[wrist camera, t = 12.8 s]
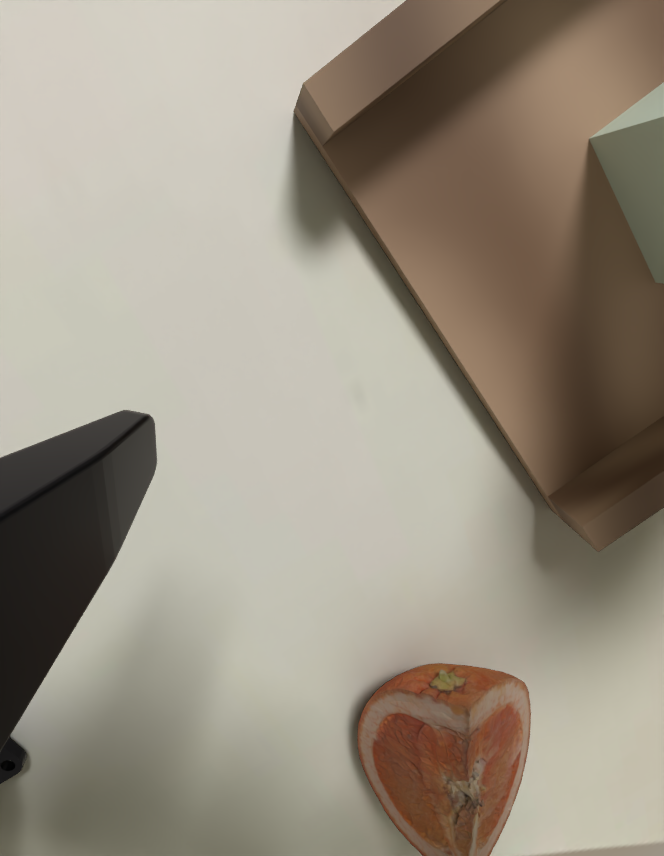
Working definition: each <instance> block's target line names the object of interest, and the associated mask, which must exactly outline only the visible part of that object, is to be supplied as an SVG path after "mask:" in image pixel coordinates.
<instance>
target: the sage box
mask: <svg viewBox="0 0 664 856" xmlns="http://www.w3.org/2000/svg"><path fill="white" fill-rule="evenodd" d="M589 140H590V142H591V144H592V146H593V149H594V151H595V153H596V155H597V157H598V159H599V162H600V164H601V166H602V168H603V170H604V172H605V175H606V177H607V179H608V181H609V183H610V185H611V187H612V190H613V192H614V194H615V196H616V198H617V200H618V203H619V205H620V207H621V209H622V211H623V213H624V215H625V218H626V220H627V222H628V224H629V226H630V228H631V231H632V233H633V235H634V237H635V239H636V241H637V244H638V246H639V248H640V250H641V252H642V254H643V256H644V259H645V261H646V263H647V265H648V267H649V269H650V272H651V274H652V276H653V278H654V280H655V282H656V283H663V284H664V82H663V83H662V84H661V85H659V86H658V87H657V88H655V89H654V90H653V91H651V92H650V93H649V94H647V95H646V96H645V97H643V98H642V99H641V100H639V101H638V102H637V103H635V104H634V105H633V106H631V107H630V108H629V109H628V110H626V111H625V112H624V113H622V114H621V115H620V116H618V117H617V118H616V119H614V120H613V121H612V122H610V123H609V124H608V125H606V126H605V127H604V128H602V129H601V130H600V131H598V132H597V133H596V134H594V135H593V136H592V137H590V138H589Z"/></svg>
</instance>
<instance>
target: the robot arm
mask: <svg viewBox="0 0 664 856" xmlns="http://www.w3.org/2000/svg"><path fill="white" fill-rule="evenodd" d="M156 465H157V452H156V435H155V423H154V420H153V418H152V417H151V416H150V415H149V414H145V413H140V412H135V411H130V410H123V411H120V412H117V413H115V414H112V415H109V416H107V417H104V418H102V419H99V420H97V421H94V422H91V423H89V424H86V425H84V426H81V427H78V428H76V429H73V430H71V431H68V432H66V433H63V434H60V435H58V436H55V437H53V438H50V439H48V440H45V441H42V442H40V443H37V444H35V445H32V446H30V447H27V448H24V449H22V450H19V451H17V452H14V453H11V454H9V455H6V456H4V457H1V458H0V784H1V783H3V782H4V781H6V780H8V779H9V778H11V777H13V776H14V775H16V774H18V773H19V772H20V771H21V769H22V767H23V765H24V762H25V760H26V757H27V756H26V752H25V751H24V750H23V749H22V748H21V747H20V746H18V745H17V744H16V743H15V742H14V741H12V740H11V739H10V738H9V736H10V735H11V733H12V731H13V730H14V728H15V726H16V725H17V723H18V721H19V720H20V718H21V716H22V715H23V713H24V711H25V710H26V708H27V706H28V705H29V703H30V701H31V700H32V698H33V696H34V695H35V693H36V691H37V690H38V688H39V686H40V685H41V683H42V681H43V680H44V678H45V677H46V675H47V673H48V672H49V670H50V668H51V667H52V665H53V663H54V662H55V660H56V658H57V657H58V655H59V653H60V652H61V650H62V648H63V647H64V645H65V643H66V642H67V640H68V638H69V637H70V635H71V633H72V632H73V630H74V628H75V627H76V625H77V623H78V622H79V620H80V618H81V617H82V615H83V613H84V612H85V610H86V608H87V607H88V605H89V603H90V602H91V600H92V598H93V597H94V595H95V593H96V592H97V590H98V588H99V587H100V585H101V583H102V582H103V580H104V578H105V577H106V575H107V573H108V572H109V570H110V568H111V566H112V565H113V563H114V561H115V559H116V557H117V555H118V553H119V551H120V549H121V547H122V545H123V542H124V540H125V538H126V536H127V534H128V531H129V529H130V527H131V525H132V522H133V520H134V518H135V516H136V514H137V511H138V509H139V507H140V505H141V503H142V500H143V498H144V496H145V494H146V492H147V489H148V487H149V485H150V483H151V480H152V478H153V476H154V473H155V470H156Z"/></svg>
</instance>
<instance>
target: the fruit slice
mask: <svg viewBox="0 0 664 856" xmlns="http://www.w3.org/2000/svg"><path fill="white" fill-rule="evenodd" d="M530 716H531V711H530V700H529V692H528V689H527V687H526V685H525V683H524V682H523V681H521V680H520V679H518V678H516V677H514V676H512V675H509V674H506V673H504V672H500V671H495V670H490V669H486V668H479V667H473V666H465V665H453V664H428V665H423V666H420V667H417V668H414V669H411V670H409V671H406V672H404V673H402V674H399V675H397V676H396V677H394V678H393V679H391V680H390V681H388V682H386V683H385V684H384V685H383V686H382V687H381V688H379V689H378V690H377V691H376V692H375V693H374V694H373V696H372V697H371V698H370V700H369V701H368V702H367V704H366V706H365V707H364V709H363V712H362V714H361V718H360V721H359V724H358V740H357V741H358V750H359V756H360V760H361V763H362V766H363V769H364V771H365V774H366V776H367V778H368V780H369V782H370V785H371V787H372V788H373V790H374V792H375V794H376V796H377V797H378V799H379V801H380V803H381V804H382V806H383V808H384V810H385V812H386V813H387V815H388V816H389V818H390V819H391V820H392V822H393V823H394V824H395V826H396V827H397V828H398V830H399V831H400V832H401V833H402V834H403V835H404V836H405V838H406V839H407V840H408V841H409V842H410V843H411V844H412V845H413V846H414V847H415V848H416V849H417V850H418V851H419V852H420V853H421V854H422V855H423V856H490V854H491V852H492V850H493V847H494V846H495V844H496V842H497V840H498V838H499V836H500V834H501V832H502V830H503V828H504V826H505V824H506V821H507V819H508V817H509V815H510V812H511V809H512V806H513V804H514V801H515V799H516V796H517V793H518V790H519V787H520V783H521V780H522V776H523V771H524V767H525V763H526V758H527V752H528V746H529V738H530Z"/></svg>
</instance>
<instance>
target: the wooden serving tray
mask: <svg viewBox="0 0 664 856" xmlns="http://www.w3.org/2000/svg"><path fill="white" fill-rule="evenodd" d="M663 82H664V0H406V1H405V2H404V3H402V4H401V5H400V6H399V7H397V8H396V9H395V10H394V11H392V12H391V13H390V14H389V15H387V16H386V17H385V18H384V19H382V20H381V21H380V22H379V23H378V24H376V25H375V26H374V27H373V28H371V29H370V30H369V31H368V32H366V33H365V34H364V35H363V36H361V37H360V38H359V39H358V40H356V41H355V42H354V43H353V44H351V45H350V46H349V47H348V48H346V49H345V50H344V51H343V52H341V53H340V54H339V55H338V56H337V57H335V58H334V59H333V60H332V61H330V62H329V63H328V64H327V65H325V66H324V67H323V68H322V69H320V70H319V71H318V72H317V73H315V74H314V75H313V76H312V77H310V78H309V79H308V80H307V81H305V82H304V83H303V85H302V88H301V91H300V94H299V97H298V100H297V103H296V106H295V109H294V113H295V115H296V116H297V118H298V119H299V121H300V122H301V124H302V125H303V127H304V129H305V130H306V132H307V133H308V135H309V136H310V138H311V139H312V141H313V142H314V144H315V146H316V147H317V149H318V150H319V152H320V153H321V155H322V156H323V158H324V159H325V161H326V163H327V164H328V166H329V167H330V169H331V170H332V172H333V173H334V175H335V176H336V178H337V180H338V181H339V183H340V184H341V186H342V187H343V189H344V190H345V192H346V193H347V195H348V197H349V198H350V200H351V201H352V203H353V204H354V206H355V207H356V209H357V210H358V212H359V214H360V215H361V217H362V218H363V220H364V221H365V223H366V224H367V226H368V227H369V229H370V231H371V232H372V234H373V235H374V237H375V238H376V240H377V241H378V243H379V244H380V246H381V248H382V249H383V251H384V252H385V254H386V255H387V257H388V258H389V260H390V261H391V263H392V265H393V266H394V268H395V269H396V271H397V272H398V274H399V275H400V277H401V278H402V280H403V282H404V283H405V285H406V286H407V288H408V289H409V291H410V292H411V294H412V295H413V297H414V298H415V300H416V302H417V303H418V305H419V306H420V308H421V309H422V311H423V312H424V314H425V315H426V317H427V319H428V320H429V322H430V323H431V325H432V326H433V328H434V329H435V331H436V332H437V334H438V336H439V337H440V339H441V340H442V342H443V343H444V345H445V346H446V348H447V349H448V351H449V353H450V354H451V356H452V357H453V359H454V360H455V362H456V363H457V365H458V366H459V368H460V370H461V371H462V373H463V374H464V376H465V377H466V379H467V380H468V382H469V383H470V385H471V387H472V388H473V390H474V391H475V393H476V394H477V396H478V397H479V399H480V400H481V402H482V404H483V405H484V407H485V408H486V410H487V411H488V413H489V414H490V416H491V417H492V419H493V421H494V422H495V424H496V425H497V427H498V428H499V430H500V431H501V433H502V434H503V436H504V438H505V439H506V441H507V442H508V444H509V445H510V447H511V448H512V450H513V451H514V453H515V455H516V456H517V458H518V459H519V461H520V462H521V464H522V465H523V467H524V468H525V470H526V472H527V473H528V475H529V476H530V478H531V479H532V481H533V482H534V484H535V485H536V487H537V489H538V490H539V492H540V493H541V495H542V496H543V498H544V499H545V501H546V502H547V504H548V506H549V507H550V509H551V510H552V511H553V512H554V513H555V514H557V515H558V516H559V517H560V518H561V519H562V520H563V521H564V522H565V523H567V524H568V525H569V526H570V527H571V528H572V529H573V530H574V531H575V532H577V533H578V534H579V535H580V536H581V537H582V538H583V539H584V540H585V541H587V542H588V543H589V544H590V545H591V546H592V547H593V548H594V549H595V550H597V551H598V552H599V551H600V550H602V549H603V548H605V547H606V546H608V545H609V544H611V543H612V542H614V541H615V540H617V539H618V538H620V537H621V536H622V535H624V534H625V533H627V532H628V531H630V530H631V529H633V528H634V527H636V526H637V525H639V524H640V523H642V522H643V521H645V520H646V519H647V518H649V517H650V516H652V515H653V514H655V513H656V512H658V511H659V510H661V509H662V508H664V284H663V283H656V282H655V280H654V278H653V276H652V274H651V272H650V269H649V267H648V265H647V263H646V261H645V259H644V256H643V254H642V252H641V250H640V248H639V246H638V244H637V241H636V239H635V237H634V235H633V233H632V231H631V228H630V226H629V224H628V222H627V220H626V218H625V215H624V213H623V211H622V209H621V207H620V205H619V203H618V200H617V198H616V196H615V194H614V192H613V190H612V187H611V185H610V183H609V181H608V179H607V177H606V175H605V172H604V170H603V168H602V166H601V164H600V162H599V159H598V157H597V155H596V153H595V151H594V149H593V146H592V144H591V142H590V140H589V138H590V137H592V136H593V135H594V134H596V133H597V132H598V131H600V130H601V129H602V128H604V127H605V126H606V125H608V124H609V123H610V122H612V121H613V120H614V119H616V118H617V117H618V116H620V115H621V114H622V113H624V112H625V111H626V110H628V109H629V108H630V107H631V106H633V105H634V104H635V103H637V102H638V101H639V100H641V99H642V98H643V97H645V96H646V95H647V94H649V93H650V92H651V91H653V90H654V89H655V88H657V87H658V86H659V85H661V84H662V83H663Z"/></svg>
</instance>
